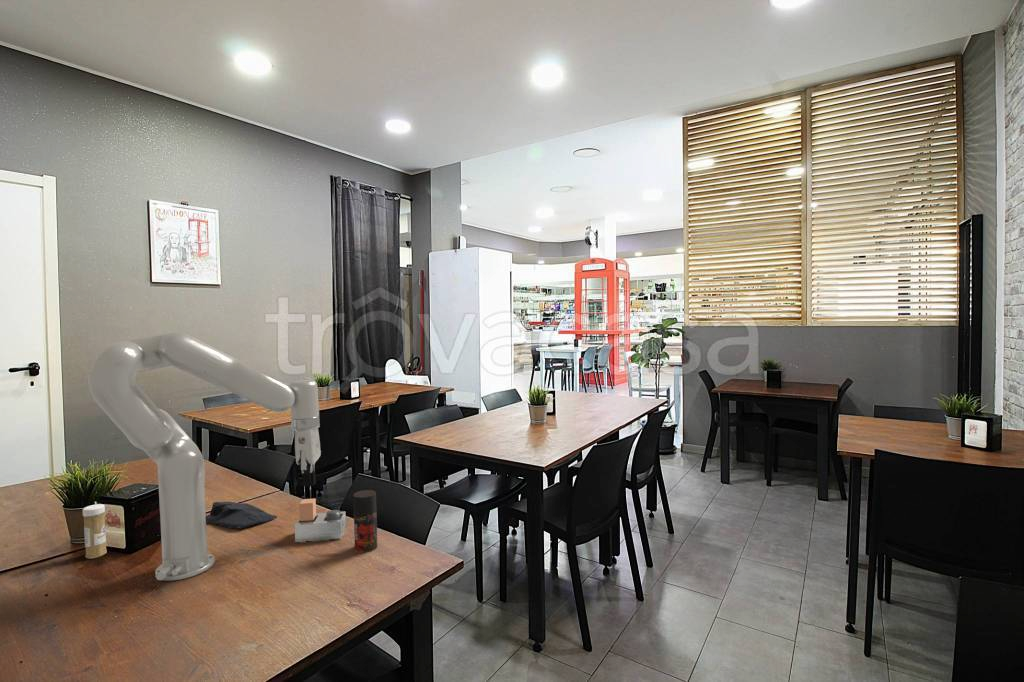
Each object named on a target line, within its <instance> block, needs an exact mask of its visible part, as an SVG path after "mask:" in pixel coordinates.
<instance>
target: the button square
mask: <svg viewBox="0 0 1024 682" xmlns="http://www.w3.org/2000/svg"><path fill="white" fill-rule="evenodd" d="M316 501H317V499H316V498H315V497H314V498H304V499H302V500H301V501H300V502H299V518H300V521H307V520H314V518H315V516H316V513H317V504H316Z"/></svg>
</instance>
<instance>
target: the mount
mask: <svg viewBox="0 0 1024 682" xmlns="http://www.w3.org/2000/svg"><path fill="white" fill-rule="evenodd" d="M326 513H327V512H316V516H315V518H314V520H307V521H300V517H299V519H297V521H296V523H295V524H294V540H295V541H294V542H300V543H307V542H306V541H312V542H317V541H316V540H323V541H330V540H329V539H335V540H342V538H343V536H344V534H345V531H344V530H346V528H347V526H346V525H347V523H346V522H347V521H346V511H340V520H329V521H327V517H326ZM342 535H343V536H342Z"/></svg>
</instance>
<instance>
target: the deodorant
mask: <svg viewBox="0 0 1024 682" xmlns="http://www.w3.org/2000/svg"><path fill="white" fill-rule="evenodd" d="M352 499H353V500H352V501H353V525H354V526H353V529H354V530H353V531H354V532H353V533H354V551H355V552H357V553H363V554H364V553H369V552H372V551H375V550H376V549H377V548H378V520H377V519H378V518H377V515H378V514H377V491H375V490H371V489H364V490H363V489H362V490H358V491H356V492H354V493H353V495H352Z"/></svg>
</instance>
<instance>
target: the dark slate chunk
mask: <svg viewBox="0 0 1024 682" xmlns="http://www.w3.org/2000/svg"><path fill="white" fill-rule="evenodd" d="M276 517H277V515H273V514H270V513H268V512H266V511H265V510H262V509H260V508H259V507H256V506H254V505H252V504H250V503H245V502H244V503H243V502H242V503H241V502H240V503H239V502H234V501H214V502H212V506H211V510H210V511H209V514H208V515H206V523H208V522H209V523H208V524H211V523H213V524H212V525H215V526H222V527H225V528H229V527H230V528H231V529H234V528H237V529H236V530H242V529H244V528H247V527H252V526H255V524H256V525H259V524H263V523H267V522H271V521H273V520H275V519H277V518H276ZM274 518H275V519H274ZM270 520H271V521H270Z"/></svg>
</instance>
